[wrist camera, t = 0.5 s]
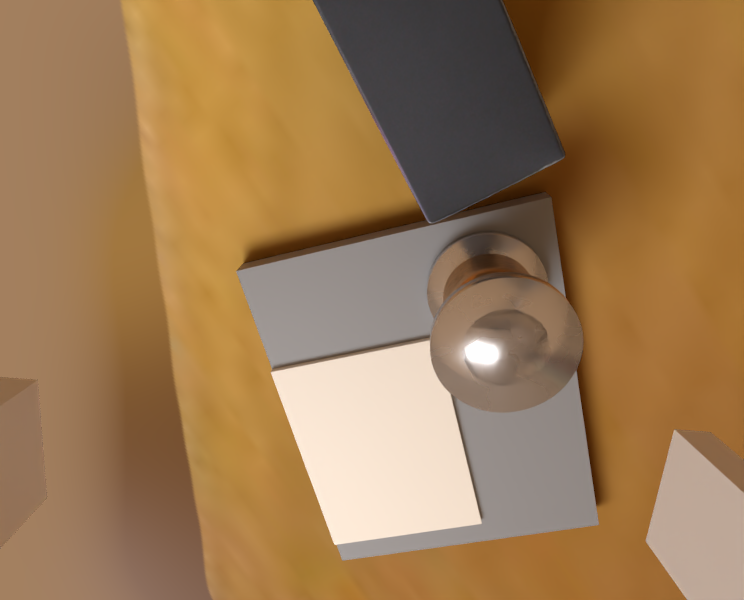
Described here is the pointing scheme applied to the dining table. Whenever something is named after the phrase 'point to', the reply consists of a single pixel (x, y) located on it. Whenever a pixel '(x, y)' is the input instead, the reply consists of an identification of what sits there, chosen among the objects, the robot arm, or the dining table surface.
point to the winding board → (412, 395)
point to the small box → (446, 95)
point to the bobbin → (499, 324)
